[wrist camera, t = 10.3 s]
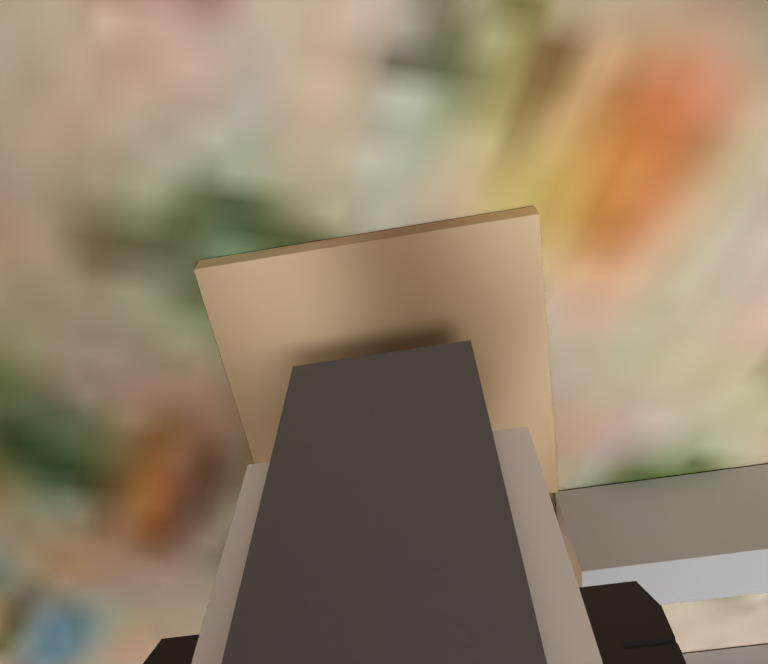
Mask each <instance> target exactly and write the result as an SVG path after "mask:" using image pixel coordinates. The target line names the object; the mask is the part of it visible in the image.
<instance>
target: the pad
mask: <svg viewBox="0 0 768 664" xmlns="http://www.w3.org/2000/svg"><path fill="white" fill-rule="evenodd" d="M194 273H195V276H196V279H197V282H198V285H199V289H200V292H201V295H202V298H203V301H204V304H205V308H206V311H207V314H208V317H209V320H210V324H211V327H212V330H213V333H214V336H215V340H216V343H217V346H218V349H219V352H220V356H221V359H222V362H223V365H224V368H225V371H226V375H227V378H228V381H229V384H230V387H231V391H232V394H233V397H234V400H235V403H236V407H237V410H238V413H239V416H240V419H241V423H242V426H243V429H244V432H245V435H246V438H247V442H248V445H249V448H250V451H251V454H252V458H253V461H254V464H256V463H263V462H270V459H271V455H272V451H273V447H274V443H275V439H276V435H277V430H278V426H279V422H280V418H281V414H282V410H283V405H284V401H285V397H286V393H287V389H288V385H289V381H290V376H291V372H292V368H293V366H299V365H306V364H312V363H319V362H326V361H333V360H339V359H346V358H353V357H360V356H367V355H373V354H380V353H387V352H394V351H401V350H407V349H414V348H421V347H428V346H435V345H441V344H448V343H455V342H462V341H468V340H471V344H472V348H473V352H474V356H475V361H476V365H477V369H478V373H479V377H480V382H481V386H482V390H483V394H484V399H485V403H486V407H487V411H488V416H489V420H490V424H491V428H492V431H496V430H503V429H511V428H518V427H525V426H528V429H529V432H530V435H531V438H532V442H533V445H534V448H535V451H536V454H537V457H538V460H539V464H540V467H541V470H542V473H543V476H544V479H545V482H546V486H547V489H548V492H549V493H556V492H559V489H558V474H557V460H556V446H555V432H554V418H553V403H552V389H551V375H550V361H549V347H548V333H547V318H546V304H545V290H544V276H543V262H542V247H541V233H540V219H539V213H538V211H537V210H536V208H535V207H534V206H532V207H525V208H519V209H513V210H507V211H501V212H495V213H488V214H482V215H476V216H470V217H464V218H458V219H451V220H445V221H439V222H433V223H427V224H420V225H414V226H408V227H402V228H396V229H390V230H383V231H377V232H371V233H365V234H359V235H353V236H346V237H340V238H334V239H328V240H322V241H315V242H309V243H303V244H297V245H291V246H285V247H278V248H272V249H266V250H260V251H254V252H248V253H241V254H235V255H229V256H223V257H217V258H210V259H204V260H199V262H198V264H197V265H196V267H195V268H194Z"/></svg>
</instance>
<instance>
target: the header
mask: <svg viewBox="0 0 768 664" xmlns="http://www.w3.org/2000/svg"><path fill="white" fill-rule="evenodd" d="M555 499H556V512H557V520H558V523H559V527H560V530H561V533H562V536H563V539H564V542H565V545H566V549H567V552H568V555H569V558H570V561H571V564H572V568H573V571H574V574H575V577H576V580H577V583H578V586H579V587H588V586H596V585H604V584H613V583H621V582H630V581H637V582H638V583H639V584H640V585H641V586H642V587H643V588H644V589H645V590H646V591H647V592H648V593H649V594H650V595H651V596H652V597H653V598H654V599H655V600H656V601H657V602H658V603H659V604H660V605H665V604H673V603H682V602H690V601H699V600H707V599H716V598H724V597H733V596H741V595H750V594H758V593H767V592H768V464H764V465H757V466H749V467H741V468H734V469H726V470H718V471H711V472H703V473H695V474H688V475H680V476H673V477H665V478H657V479H650V480H642V481H634V482H627V483H619V484H612V485H604V486H596V487H589V488H581V489H573V490H566V491H559V492H556V493H555ZM683 657H684V659H685V661H686V664H768V644H766V645H757V646H748V647H739V648H731V649H722V650H713V651H704V652H695V653H686V654H683Z"/></svg>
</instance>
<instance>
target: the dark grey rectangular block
mask: <svg viewBox="0 0 768 664" xmlns="http://www.w3.org/2000/svg"><path fill="white" fill-rule="evenodd" d="M221 664H547V661H546V657H545V653H544V648H543V644H542V640H541V636H540V631H539V627H538V623H537V619H536V615H535V610H534V606H533V602H532V598H531V593H530V589H529V585H528V581H527V576H526V572H525V568H524V564H523V559H522V555H521V551H520V547H519V543H518V538H517V534H516V530H515V526H514V521H513V517H512V513H511V509H510V504H509V500H508V496H507V492H506V488H505V483H504V479H503V475H502V471H501V466H500V462H499V458H498V454H497V449H496V445H495V441H494V437H493V432H492V428H491V424H490V420H489V416H488V411H487V407H486V403H485V399H484V394H483V390H482V386H481V382H480V377H479V373H478V369H477V365H476V361H475V356H474V352H473V348H472V344H471V340H468V341H462V342H455V343H448V344H441V345H435V346H428V347H421V348H414V349H407V350H401V351H394V352H387V353H380V354H373V355H367V356H360V357H353V358H346V359H339V360H333V361H326V362H319V363H312V364H306V365H299V366H293V368H292V372H291V376H290V381H289V385H288V389H287V393H286V397H285V401H284V405H283V410H282V414H281V418H280V422H279V426H278V430H277V435H276V439H275V443H274V447H273V451H272V455H271V459H270V464H269V468H268V472H267V476H266V480H265V484H264V488H263V493H262V497H261V501H260V505H259V509H258V513H257V518H256V522H255V526H254V530H253V534H252V538H251V542H250V547H249V551H248V555H247V559H246V563H245V567H244V571H243V576H242V580H241V584H240V588H239V592H238V596H237V600H236V605H235V609H234V613H233V617H232V621H231V625H230V630H229V634H228V638H227V642H226V646H225V650H224V654H223V659H222V663H221Z"/></svg>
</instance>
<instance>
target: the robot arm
mask: <svg viewBox="0 0 768 664" xmlns="http://www.w3.org/2000/svg"><path fill="white" fill-rule="evenodd" d="M492 432H493V437H494V441H495V445H496V449H497V454H498V458H499V462H500V466H501V471H502V475H503V479H504V483H505V488H506V492H507V496H508V500H509V504H510V509H511V513H512V517H513V521H514V526H515V530H516V534H517V538H518V543H519V547H520V551H521V555H522V559H523V564H524V568H525V572H526V576H527V581H528V585H529V589H530V593H531V598H532V602H533V606H534V610H535V615H536V619H537V623H538V627H539V631H540V636H541V640H542V644H543V648H544V653H545V657H546V661H547V664H686V661H685V659H684V657H683V654H682V652H681V650H680V648H679V645H678V644H677V643H676V641H675V636H674V634H673V632H672V629H671V627H670V625H669V623H668V620H667V618H666V616H665V613H664V611H663V609H662V607H661V605H660V604H659V603H658V602H657V601H656V600H655V599H654V598H653V597H652V596H651V595H650V594H649V593H648V592H647V591H646V590H645V589H644V588H643V587H642V586H641V585H640V584H639V583H638V582H637V581H630V582H621V583H613V584H604V585H596V586H588V587H579V586H578V583H577V580H576V577H575V574H574V571H573V568H572V564H571V561H570V558H569V555H568V552H567V549H566V545H565V542H564V539H563V536H562V533H561V530H560V527H559V523H558V520H557V517H556V514H555V511H554V508H553V505H552V501H551V498H550V495H549V492H548V489H547V486H546V482H545V479H544V476H543V473H542V470H541V467H540V464H539V460H538V457H537V454H536V451H535V448H534V445H533V442H532V438H531V435H530V432H529V429H528V426H525V427H518V428H511V429H503V430H496V431H492ZM269 464H270V462H263V463H256V464H248V466H247V469H246V473H245V476H244V480H243V483H242V487H241V490H240V494H239V497H238V501H237V504H236V508H235V511H234V515H233V518H232V522H231V525H230V529H229V533H228V536H227V540H226V543H225V547H224V550H223V554H222V557H221V561H220V564H219V568H218V571H217V575H216V578H215V582H214V585H213V589H212V592H211V596H210V599H209V603H208V606H207V610H206V613H205V617H204V620H203V624H202V627H201V631H200V634H199V635H190V636H182V637H174V638H165V639H162V640H161V641H160V642H159V644H158V645H157V646H156V648H155V649H154V650H153V651H152V653H151V654H150V655H149V657H148V658H147V659H146V661H145V662H144V663H143V664H221V663H222V659H223V654H224V650H225V646H226V642H227V638H228V634H229V630H230V625H231V621H232V617H233V613H234V609H235V605H236V600H237V596H238V592H239V588H240V584H241V580H242V576H243V571H244V567H245V563H246V559H247V555H248V551H249V547H250V542H251V538H252V534H253V530H254V526H255V522H256V518H257V513H258V509H259V505H260V501H261V497H262V493H263V488H264V484H265V480H266V476H267V472H268V468H269Z"/></svg>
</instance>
